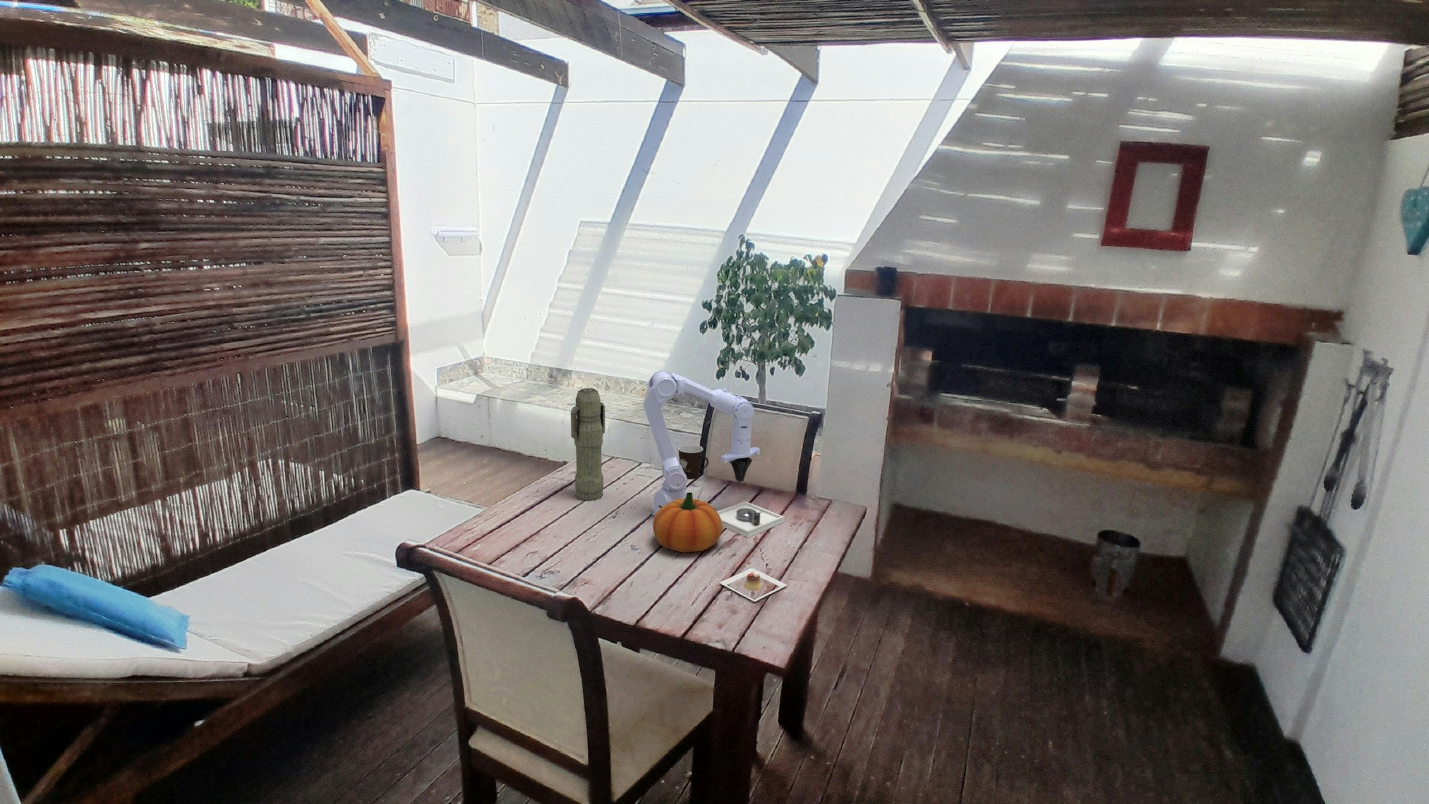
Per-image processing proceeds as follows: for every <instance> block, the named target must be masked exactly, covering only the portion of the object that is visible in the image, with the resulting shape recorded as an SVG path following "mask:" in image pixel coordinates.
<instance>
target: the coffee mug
mask: <svg viewBox="0 0 1429 804" xmlns="http://www.w3.org/2000/svg"><path fill="white" fill-rule="evenodd" d="M677 450H678V458H679V459H678V462H679V463H680V464H681V466H682V468H683V471H684V473H685V474H686V476H687V480H695V479H698V478H699V477H700V472H701V471H702V470H704V469H706V468H707V467H708V465H709V458H708V457H707V456H705V455H703V452H704V447H702V446H701V445H696V444H695V445H694V444H685V445H680V446H678V448H677ZM703 458H704V459H705V461H706V464H705V466H703V467H701V466H702V459H703Z"/></svg>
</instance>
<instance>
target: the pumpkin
mask: <svg viewBox="0 0 1429 804" xmlns="http://www.w3.org/2000/svg"><path fill="white" fill-rule="evenodd" d="M717 511H718V510H716V509H715V507H714V506H712V505H711V504H710V503H708V502H706V501H704V500H700V499H696V498H693V492H686V498H685V499H677V500H675V501H672V502H670V503H668V504H667V505H665V506H664V507H662V508H661V509H660V510H659V511H658V512H657V513H656V514H655V516H654V517H653V521H652V531H653V534H654V537H655V539H656V540H657V542H659V544H660V545H661V547H663V548H665V549H669V550H673V551H676V552H680V553H690V552H691V553H692V552H700V551H701V552H702V551H705V550H707V549H709V548H710V547H713V546H714V545H715V544H716V543H717V541H718V540H719V539H720V538H721V535H722V533H723V528H724V527H723V526H722V522H721V518H720V516H719V514H718V513H717Z"/></svg>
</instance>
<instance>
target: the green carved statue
mask: <svg viewBox="0 0 1429 804" xmlns="http://www.w3.org/2000/svg"><path fill="white" fill-rule="evenodd" d="M599 394H600V393H599V391H598V390H596V388H591V387H590V388H589V387H586V388H585V387H584V388H580V389H579V390H578V391H577V394H576V396H575V406H573V407H572V409H570V410H571V411H570V435H571V436H570V437H571V438H572V439H573V440H574V442H573V443H574V446H575V453H576V454H575V457H576V458H575V462H576V465H575V466H576V472H575V475H574V489H575V497H577V498H578V499H577V498H576V499H577V500H579V499H580V501H583V500H585V502H591V501H592V500H593V501H597V499H598V500H600V499H602V498H603V497H604V474H603V471H602V445H603V443H604V441H603V440H604V439H603V437H604V434H605V431H606V406H605V404H604V402H602V401H601V396H600V395H599ZM602 496H603V497H602ZM601 497H602V498H601ZM599 498H600V499H599Z"/></svg>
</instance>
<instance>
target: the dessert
mask: <svg viewBox="0 0 1429 804" xmlns="http://www.w3.org/2000/svg"><path fill="white" fill-rule="evenodd" d="M744 577H746V579H745V580H744V584H743V588H745V589H746V590H748V591H754V592H755V591H760V590H761V589H763V584H762V579H763V580H766V581H768V582H770V583H772V584H774V585H776V586H778V587H777V588H775V589H774V590H772V591H769V592H768V593H766V594H763V595H761V596H760V597H757V598H755V599H753V598H751V597H750V596H748V595H746V594H743V593H742V592H740V591H738V590H737V589H734V588H732V587H731V586H728V585H729V584H732V583H734V582H735V581H738V580H741V579H742V578H744ZM718 584H720V585H722V586H724V587H726V588H728V589H729V590H731V591H733V592H736V593H737V594H739V595H741V596H743V597H745V598H746V599H749V600H751V601H752V602H757V601H760V600H761V599H764V598H765V597H767V596H769V595H772V594H773V593H775V592H777V591H779V590H781V589H783V588H785V587H787V586H788V584H786V583H784V582H782V581H780V580H777V578H776V579H775V578H774V577H771V576H769V575H768V574H765V573H764V572H761V571H759V570H758V569H755V568H754V567H750V568H748V569H746V570H744V571H742V572H740V573H737V574H735V575H732V576H731V577H729V578H726V579H724V580H722V581H720V582H719V583H718Z"/></svg>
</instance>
